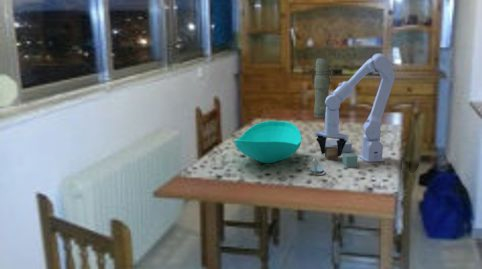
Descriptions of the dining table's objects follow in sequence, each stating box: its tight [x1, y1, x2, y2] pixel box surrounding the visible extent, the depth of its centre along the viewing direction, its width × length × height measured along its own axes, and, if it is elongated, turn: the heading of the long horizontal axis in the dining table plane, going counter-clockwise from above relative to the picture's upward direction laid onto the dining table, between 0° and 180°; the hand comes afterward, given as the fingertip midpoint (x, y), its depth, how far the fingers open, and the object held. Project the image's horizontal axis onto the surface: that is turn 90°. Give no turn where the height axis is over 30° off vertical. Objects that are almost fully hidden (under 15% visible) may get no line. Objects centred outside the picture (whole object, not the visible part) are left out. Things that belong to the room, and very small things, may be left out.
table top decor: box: [233, 120, 303, 164], centre depth 222 cm, size 40×28×13 cm
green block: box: [342, 152, 359, 168], centre depth 213 cm, size 5×5×5 cm
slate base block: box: [325, 139, 353, 154], centre depth 237 cm, size 9×9×4 cm
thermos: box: [311, 56, 333, 119], centre depth 306 cm, size 9×12×35 cm
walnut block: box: [324, 146, 339, 161], centre depth 224 cm, size 5×5×5 cm
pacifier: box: [308, 157, 327, 176], centre depth 204 cm, size 7×6×6 cm
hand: (331, 154), depth 225 cm, fingers open, 7 cm apart
